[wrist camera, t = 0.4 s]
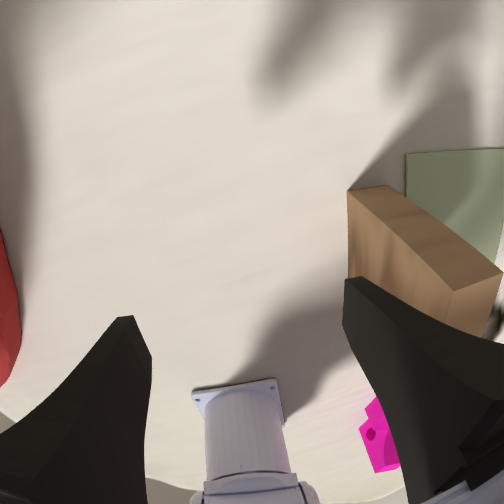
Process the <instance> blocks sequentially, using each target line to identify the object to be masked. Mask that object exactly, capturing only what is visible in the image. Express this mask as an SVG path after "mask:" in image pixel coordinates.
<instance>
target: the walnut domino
mask: <svg viewBox="0 0 504 504" xmlns="http://www.w3.org/2000/svg"><path fill="white" fill-rule="evenodd" d="M347 212H348V279H349V278H354V277H358V276H362V277H364V278H366V279H368V280H369V281H371V282H373V283H374V284H376V285H377V286H379V287H381V288H382V289H384V290H385V291H387V292H389V293H390V294H392V295H393V296H395V297H397V298H398V299H400V300H402V301H403V302H405V303H407V304H408V305H410V306H412V307H414V308H415V309H417V310H419V311H421V312H423V313H425V314H426V315H428V316H430V317H432V318H434V319H436V320H438V321H440V322H442V323H444V324H447V325H449V326H451V327H454V328H456V329H458V330H461V331H463V332H466V333H468V334H471V335H474V336H477V337H480V338H481V336H482V333H483V331H484V328H485V326H486V323H487V321H488V318H489V315H490V313H491V310H492V307H493V304H494V301H495V298H496V295H497V292H498V289H499V286H500V283H501V279H502V276H503V273H504V272H502V271H501V270H500V269H499V268H498V267H497V266H496V265H494V264H493V263H492V262H491V261H490V260H489V259H487V258H486V257H485V256H484V255H483V254H481V253H480V252H479V251H478V250H477V249H475V248H474V247H473V246H472V245H470V244H469V243H468V242H467V241H465V240H464V239H463V238H461V237H460V236H459V235H458V234H456V233H455V232H454V231H452V230H451V229H450V228H448V227H447V226H446V225H444V224H443V223H442V222H440V221H439V220H438V219H436V218H435V217H433V216H432V215H431V214H429V213H428V212H427V211H425V210H424V209H422V208H421V207H419V206H418V205H417V204H415V203H414V202H412V201H411V200H409V199H408V198H406V197H405V196H403V195H402V194H400V193H399V192H397V191H396V190H394V189H393V188H391V187H390V186H388V185H383V186H376V187H369V188H363V189H356V190H350V191H347Z"/></svg>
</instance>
